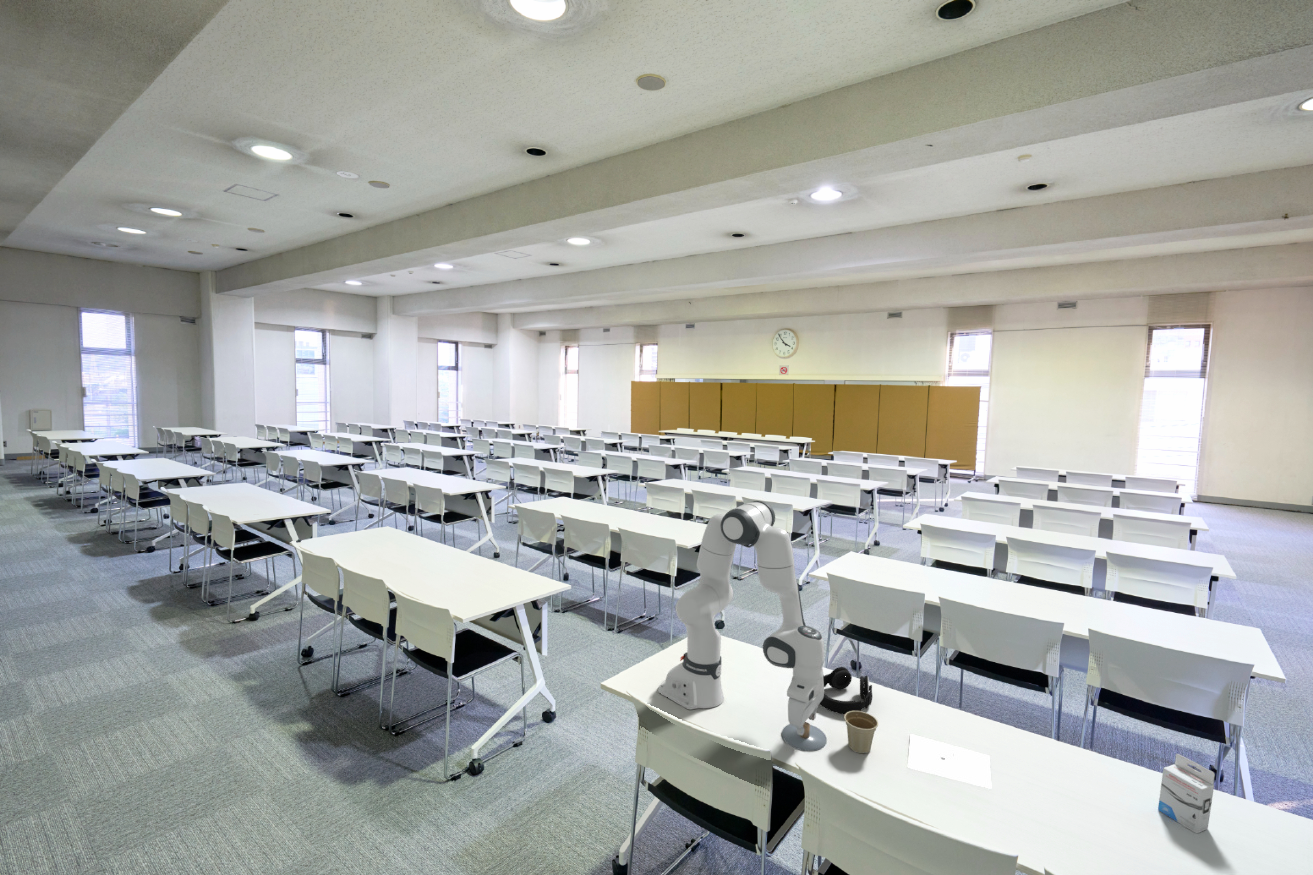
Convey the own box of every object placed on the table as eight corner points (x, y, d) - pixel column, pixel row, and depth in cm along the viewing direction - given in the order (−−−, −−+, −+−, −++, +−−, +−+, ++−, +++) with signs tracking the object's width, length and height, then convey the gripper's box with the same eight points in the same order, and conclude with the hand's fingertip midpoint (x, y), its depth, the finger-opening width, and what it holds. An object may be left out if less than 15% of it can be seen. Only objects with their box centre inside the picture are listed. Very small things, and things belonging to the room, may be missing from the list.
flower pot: (878, 759, 170) (880, 731, 169) (844, 754, 172) (846, 726, 171) (873, 740, 179) (875, 712, 178) (841, 735, 181) (842, 708, 180)
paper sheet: (999, 761, 170) (999, 758, 170) (992, 828, 146) (992, 824, 146) (911, 733, 183) (911, 729, 183) (891, 790, 159) (891, 786, 159)
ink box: (1156, 809, 152) (1163, 755, 150) (1168, 805, 154) (1175, 751, 152) (1196, 834, 144) (1203, 777, 142) (1209, 829, 146) (1216, 772, 144)
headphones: (882, 675, 202) (857, 705, 187) (881, 695, 203) (857, 727, 188) (832, 658, 213) (806, 685, 199) (832, 678, 215) (806, 706, 200)
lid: (775, 741, 178) (775, 726, 178) (791, 720, 189) (792, 707, 188) (817, 757, 171) (818, 743, 170) (832, 735, 181) (833, 721, 181)
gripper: (810, 665, 188) (808, 707, 189) (784, 693, 171) (783, 738, 172) (829, 671, 184) (828, 713, 186) (805, 700, 168) (804, 746, 169)
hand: (806, 726), depth 179 cm, fingers open, 8 cm apart
